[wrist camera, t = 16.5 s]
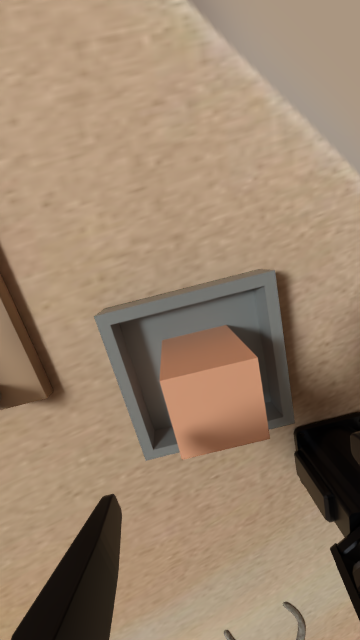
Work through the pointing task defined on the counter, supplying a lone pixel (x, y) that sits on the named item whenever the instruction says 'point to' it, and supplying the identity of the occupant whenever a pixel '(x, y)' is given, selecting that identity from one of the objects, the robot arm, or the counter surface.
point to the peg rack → (18, 359)
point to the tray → (184, 318)
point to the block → (212, 391)
